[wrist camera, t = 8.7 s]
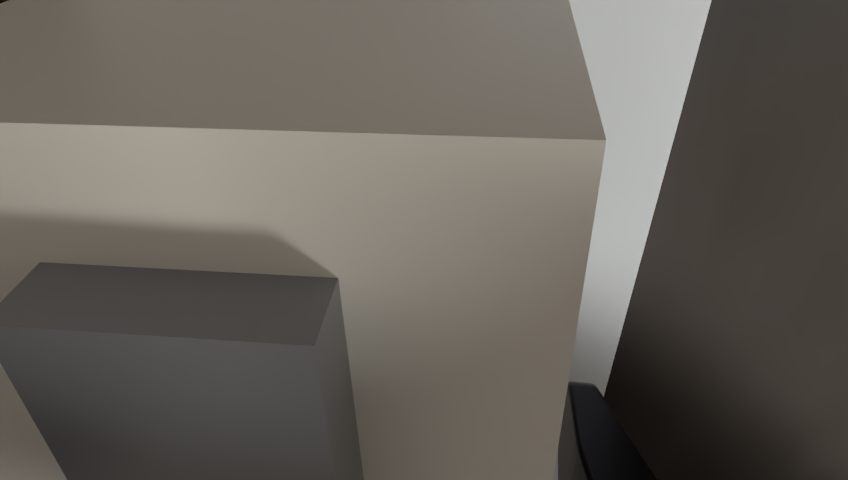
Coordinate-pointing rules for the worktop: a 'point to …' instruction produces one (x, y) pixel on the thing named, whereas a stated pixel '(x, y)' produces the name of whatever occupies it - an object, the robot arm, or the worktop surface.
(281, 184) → the module
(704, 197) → the worktop surface
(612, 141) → the mat
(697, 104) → the worktop surface
